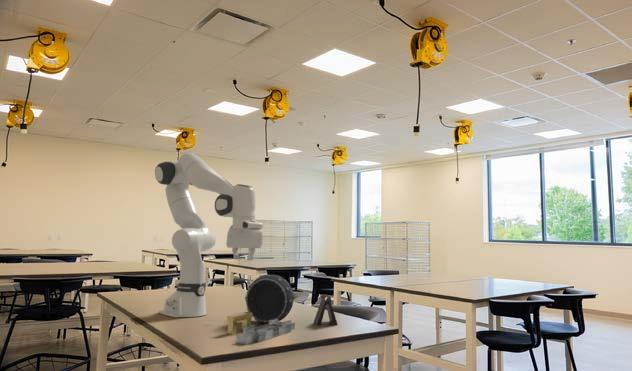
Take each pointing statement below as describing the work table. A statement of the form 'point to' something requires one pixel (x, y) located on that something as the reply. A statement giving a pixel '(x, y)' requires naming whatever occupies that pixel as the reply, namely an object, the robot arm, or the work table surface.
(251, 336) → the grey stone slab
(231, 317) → the tan notched block
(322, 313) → the brown a-shaped stand
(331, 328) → the work table surface
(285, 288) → the dark grey short cylinder
